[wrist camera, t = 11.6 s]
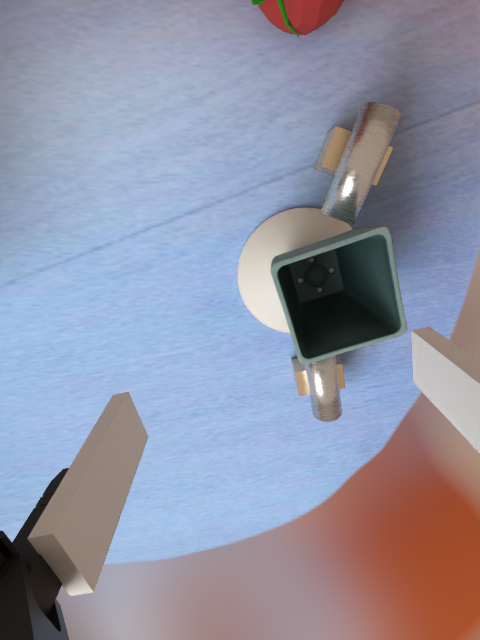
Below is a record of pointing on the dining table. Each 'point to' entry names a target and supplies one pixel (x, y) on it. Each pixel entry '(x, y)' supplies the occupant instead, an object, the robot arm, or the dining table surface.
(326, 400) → the shaft
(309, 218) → the seat pad
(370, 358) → the dining table surface
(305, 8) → the tomato
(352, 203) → the shaft
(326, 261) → the flower pot
